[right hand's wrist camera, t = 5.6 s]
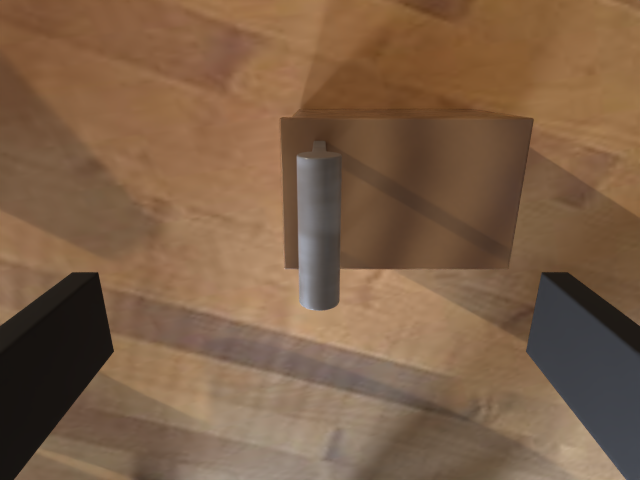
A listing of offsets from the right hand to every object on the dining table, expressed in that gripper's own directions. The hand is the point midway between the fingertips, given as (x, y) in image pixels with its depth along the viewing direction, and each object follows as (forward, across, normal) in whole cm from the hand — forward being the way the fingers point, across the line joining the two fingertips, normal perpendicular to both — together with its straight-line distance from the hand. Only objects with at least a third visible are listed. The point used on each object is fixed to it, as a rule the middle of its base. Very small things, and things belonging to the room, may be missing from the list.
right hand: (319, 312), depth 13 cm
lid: (+15, -5, 0) cm, 15 cm away
